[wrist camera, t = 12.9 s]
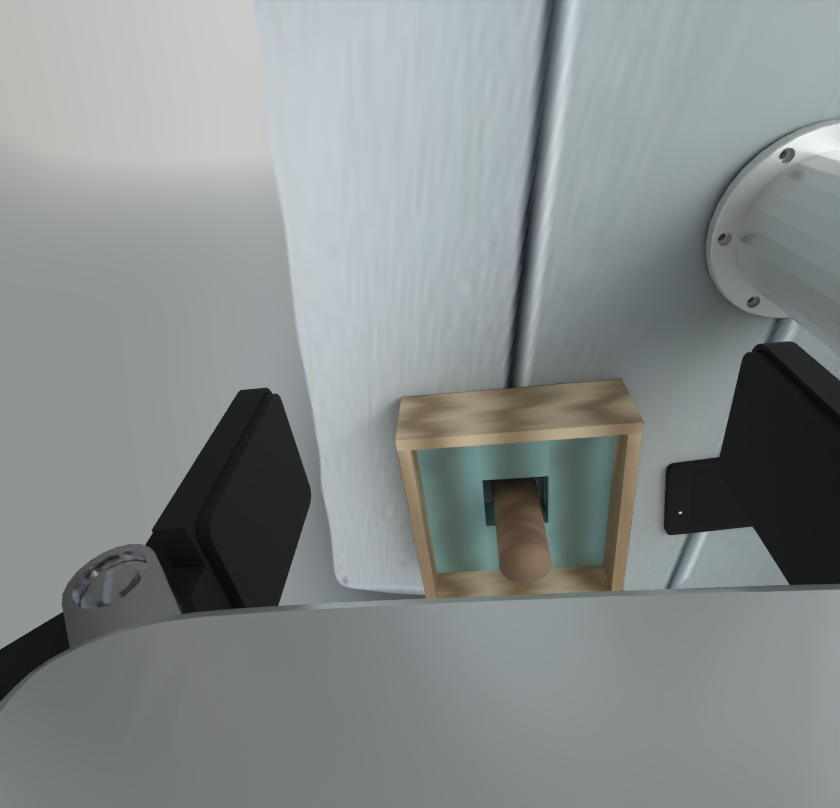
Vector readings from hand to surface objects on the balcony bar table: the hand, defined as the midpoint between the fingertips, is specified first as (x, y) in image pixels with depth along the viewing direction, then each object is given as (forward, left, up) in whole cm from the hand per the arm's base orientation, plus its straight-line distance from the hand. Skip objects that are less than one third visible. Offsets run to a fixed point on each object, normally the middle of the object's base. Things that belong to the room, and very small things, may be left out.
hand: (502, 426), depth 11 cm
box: (-2, +27, -28) cm, 39 cm away
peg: (-2, +27, -28) cm, 39 cm away
